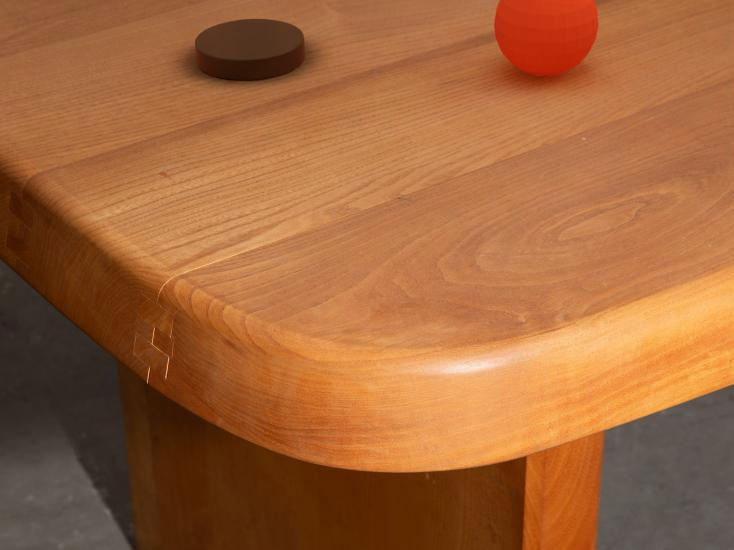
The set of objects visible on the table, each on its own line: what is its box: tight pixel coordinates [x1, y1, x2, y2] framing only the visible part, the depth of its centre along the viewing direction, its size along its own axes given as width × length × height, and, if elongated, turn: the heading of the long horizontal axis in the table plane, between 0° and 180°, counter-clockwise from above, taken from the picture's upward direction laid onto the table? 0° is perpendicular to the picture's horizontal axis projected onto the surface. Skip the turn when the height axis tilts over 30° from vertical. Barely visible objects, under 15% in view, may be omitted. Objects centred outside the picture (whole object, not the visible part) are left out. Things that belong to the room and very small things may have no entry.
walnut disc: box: [194, 18, 306, 81], centre depth 101 cm, size 8×8×2 cm
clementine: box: [493, 0, 599, 77], centre depth 97 cm, size 8×7×7 cm
